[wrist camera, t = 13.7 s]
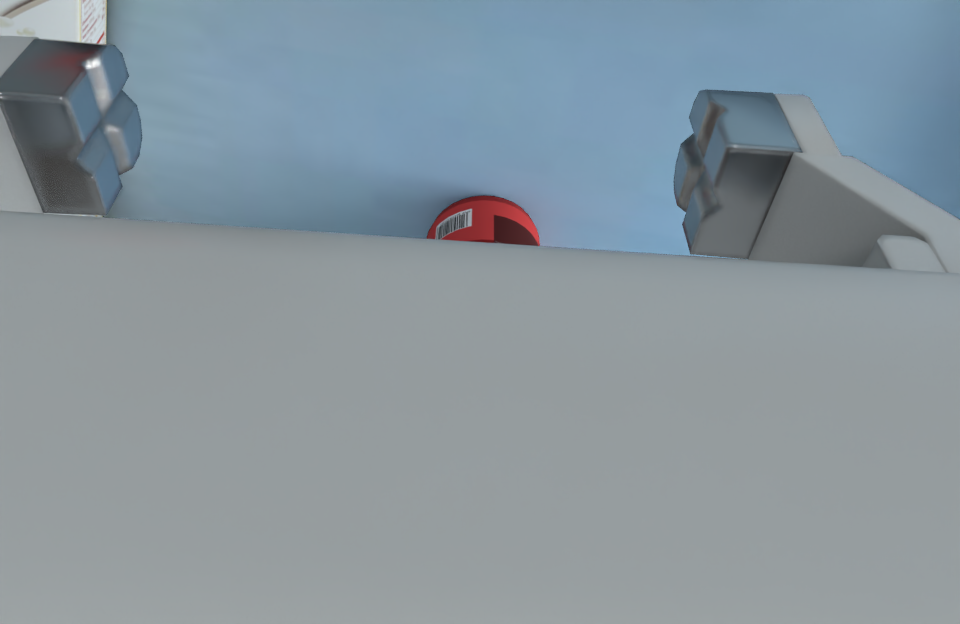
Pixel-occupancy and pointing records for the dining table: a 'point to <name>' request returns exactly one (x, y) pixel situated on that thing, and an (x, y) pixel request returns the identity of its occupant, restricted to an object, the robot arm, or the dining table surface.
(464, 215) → the canned food
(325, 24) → the dining table surface
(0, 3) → the cereal box
